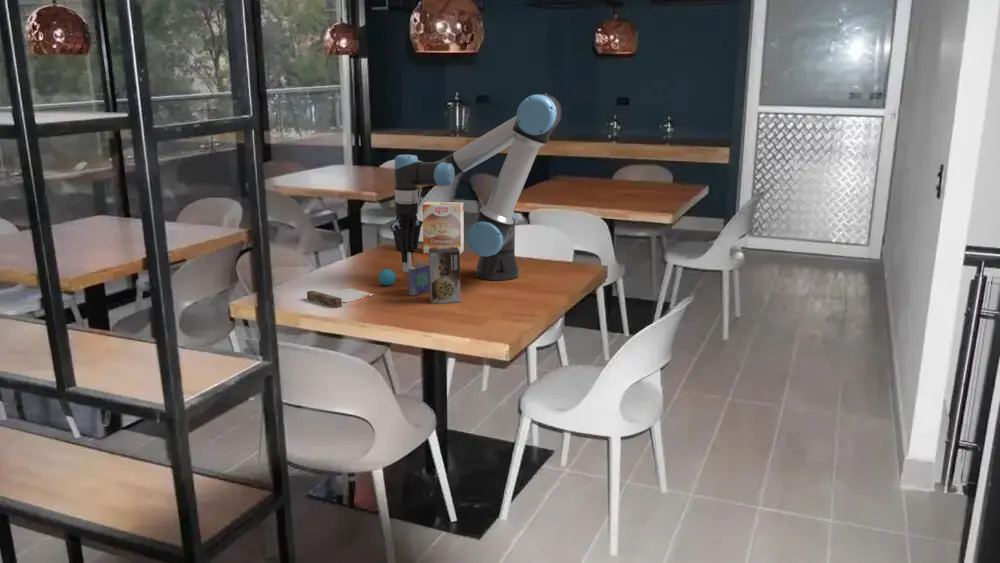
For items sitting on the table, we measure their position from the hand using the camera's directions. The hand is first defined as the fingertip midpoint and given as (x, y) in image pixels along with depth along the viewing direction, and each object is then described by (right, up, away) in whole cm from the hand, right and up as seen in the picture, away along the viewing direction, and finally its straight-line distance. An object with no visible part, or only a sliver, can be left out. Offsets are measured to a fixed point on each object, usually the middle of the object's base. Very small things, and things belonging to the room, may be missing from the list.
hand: (407, 271), depth 275 cm
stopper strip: (-22, -10, -27) cm, 36 cm away
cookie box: (+14, -9, -24) cm, 29 cm away
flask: (+6, -7, -16) cm, 18 cm away
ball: (-6, -2, -7) cm, 9 cm away
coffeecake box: (+9, +8, +43) cm, 45 cm away
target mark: (-17, -8, -19) cm, 26 cm away
